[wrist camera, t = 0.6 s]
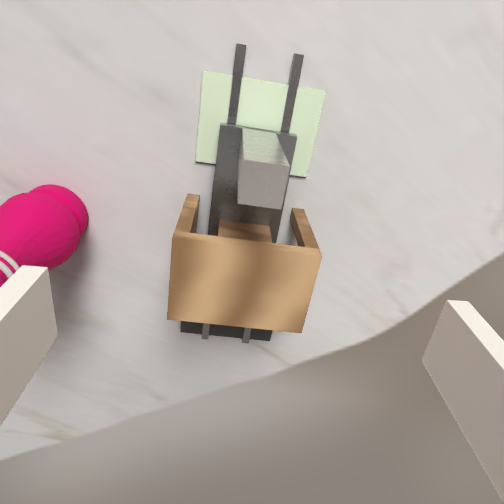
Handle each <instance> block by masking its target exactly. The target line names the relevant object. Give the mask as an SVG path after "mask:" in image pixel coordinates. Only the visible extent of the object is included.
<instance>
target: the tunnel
mask: <svg viewBox="0 0 504 504" xmlns="http://www.w3.org/2000/svg"><path fill="white" fill-rule="evenodd" d="M199 197H200V195H193V194H187V197H186V200H185V203H184V206H183V209H182V211H181V214H180V217H179V220H178V223H177V226H176V229H175V231H174V234H173V237H172V252H171V267H170V282H169V297H168V312H167V319H168V320H178V321H187V322H197V323H207V324H216V325H226V326H236V327H245V328H255V329H265V330H274V331H284V332H294V333H302V329H303V325H304V322H305V318H306V314H307V311H308V307H309V303H310V299H311V296H312V292H313V288H314V284H315V281H316V277H317V273H318V270H319V266H320V262H321V258H322V254H321V252H320V249H319V247H318V244H317V242H316V239H315V237H314V234H313V232H312V229H311V227H310V224H309V222H308V219H307V217H306V214H305V212H304V209H297V208H292V212H291V216H290V220H291V223H292V227H293V230H294V233H295V237H296V240H297V243H298V246H292V245H284V244H276V243H268V242H260V241H252V240H244V239H236V238H228V237H220V236H212V235H204V234H196V228H197V218H198V207H199Z"/></svg>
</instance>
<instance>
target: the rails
mask: <svg viewBox="0 0 504 504" xmlns="http://www.w3.org/2000/svg"><path fill="white" fill-rule="evenodd" d="M245 50H246V45H242V44H237V46H236V54H235V62H234V71H233V79H232V88H231V96H230V104H229V113H228V121H227V124H234V125H236V120H237V112H238V104H239V97H240V89H241V81H242V73H243V66H244V58H245ZM303 57H304V55H299V54H294V57H293V62H292V68H291V73H290V79H289V84H288V85H289V86H288V92H287V97H286V103H285V108H284V114H283V119H282V125H281V130H280V132H286V133H289V130H290V125H291V120H292V115H293V109H294V104H295V99H296V94H297V89H298V83H299V78H300V73H301V68H302V63H303ZM209 328H210V324H207V323H203V330H202V339H208V335H209ZM250 333H251V328H244V334H243V338H242V343H249V338H250Z"/></svg>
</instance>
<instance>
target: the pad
mask: <svg viewBox="0 0 504 504" xmlns="http://www.w3.org/2000/svg"><path fill="white" fill-rule="evenodd" d="M232 79H233V75H228V74H222V73H216V72H210V71H203V79H202V91H201V102H200V114H199V125H198V137H197V148H196V160H195V161H198V162H205V163H212V164H216V157H217V148H218V139H219V130H220V123H227V121H228V113H229V104H230V96H231V88H232ZM288 86H289V85H288V84H282V83H276V82H270V81H264V80H258V79H252V78H246V77H242V81H241V89H240V97H239V104H238V112H237V120H236V125H240V126H247V127H253V128H260V129H266V130H273V131H279V132H280V130H281V125H282V119H283V114H284V108H285V103H286V97H287V92H288ZM325 93H326V91H324V90H318V89H312V88H306V87H300V86H298V89H297V94H296V99H295V104H294V109H293V115H292V120H291V125H290V130H289V133H292V134H296V135H297V142H296V146H295V151H294V156H293V161H292V166H291V171H290V175H295V176H302V177H307V173H308V169H309V164H310V160H311V155H312V151H313V146H314V142H315V137H316V133H317V128H318V124H319V120H320V115H321V111H322V106H323V102H324V97H325Z"/></svg>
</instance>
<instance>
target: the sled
mask: <svg viewBox="0 0 504 504" xmlns="http://www.w3.org/2000/svg"><path fill="white" fill-rule="evenodd" d="M296 142H297V135H296V134H292V133H286V132H279V131H273V130H266V129H260V128H253V127H247V126H240V125H234V124H227V123H220V130H219V139H218V148H217V157H216V166H215V174H214V183H213V192H212V201H211V210H210V219H209V228H208V235H212V236H218V229H219V221H220V220H227V221H235V222H242V223H250V224H258V225H265V226H269V227H270V233H271V239H272V243H276V240H277V235H278V230H279V225H280V220H281V215H282V211H283V206H284V201H285V196H286V191H287V186H288V181H289V176H290V171H291V166H292V161H293V156H294V151H295V146H296Z"/></svg>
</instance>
